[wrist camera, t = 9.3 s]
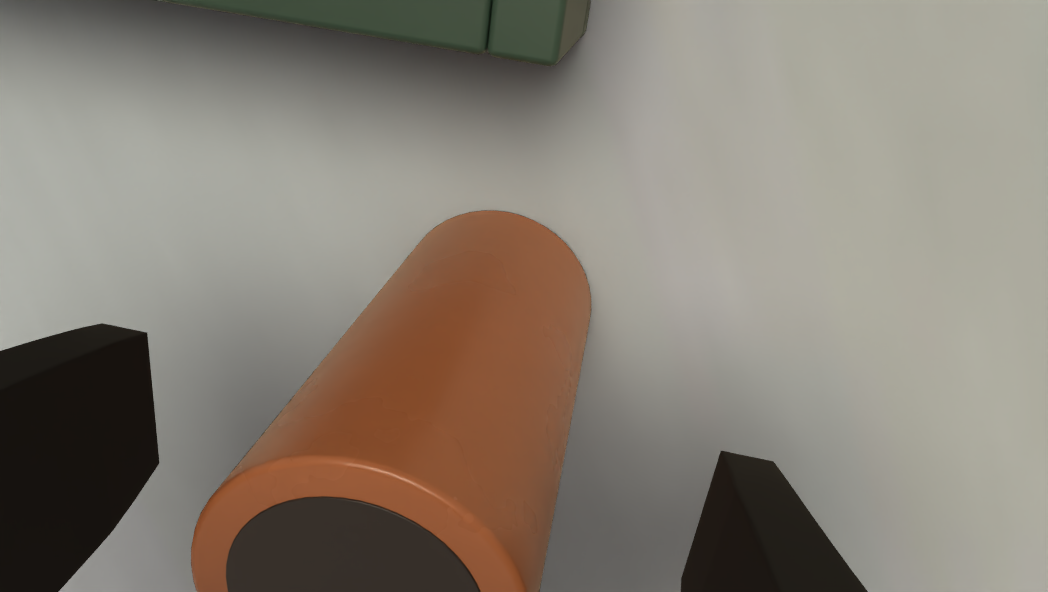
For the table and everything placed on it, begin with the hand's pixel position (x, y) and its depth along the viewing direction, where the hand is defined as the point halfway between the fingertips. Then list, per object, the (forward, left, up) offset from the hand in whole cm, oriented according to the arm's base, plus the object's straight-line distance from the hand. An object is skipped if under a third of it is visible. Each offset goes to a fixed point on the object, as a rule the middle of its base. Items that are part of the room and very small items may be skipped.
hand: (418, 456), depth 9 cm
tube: (0, 0, -5) cm, 5 cm away
